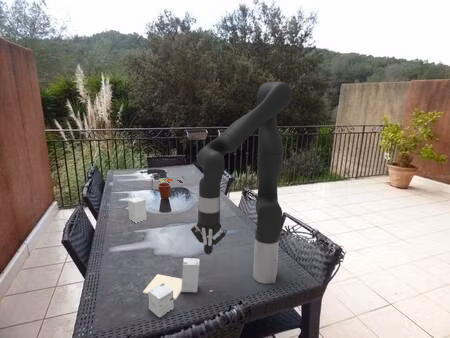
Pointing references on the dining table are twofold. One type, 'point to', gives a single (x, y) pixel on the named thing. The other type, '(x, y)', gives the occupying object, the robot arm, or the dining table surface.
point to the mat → (167, 280)
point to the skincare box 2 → (190, 275)
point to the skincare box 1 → (161, 299)
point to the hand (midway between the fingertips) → (208, 253)
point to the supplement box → (137, 209)
